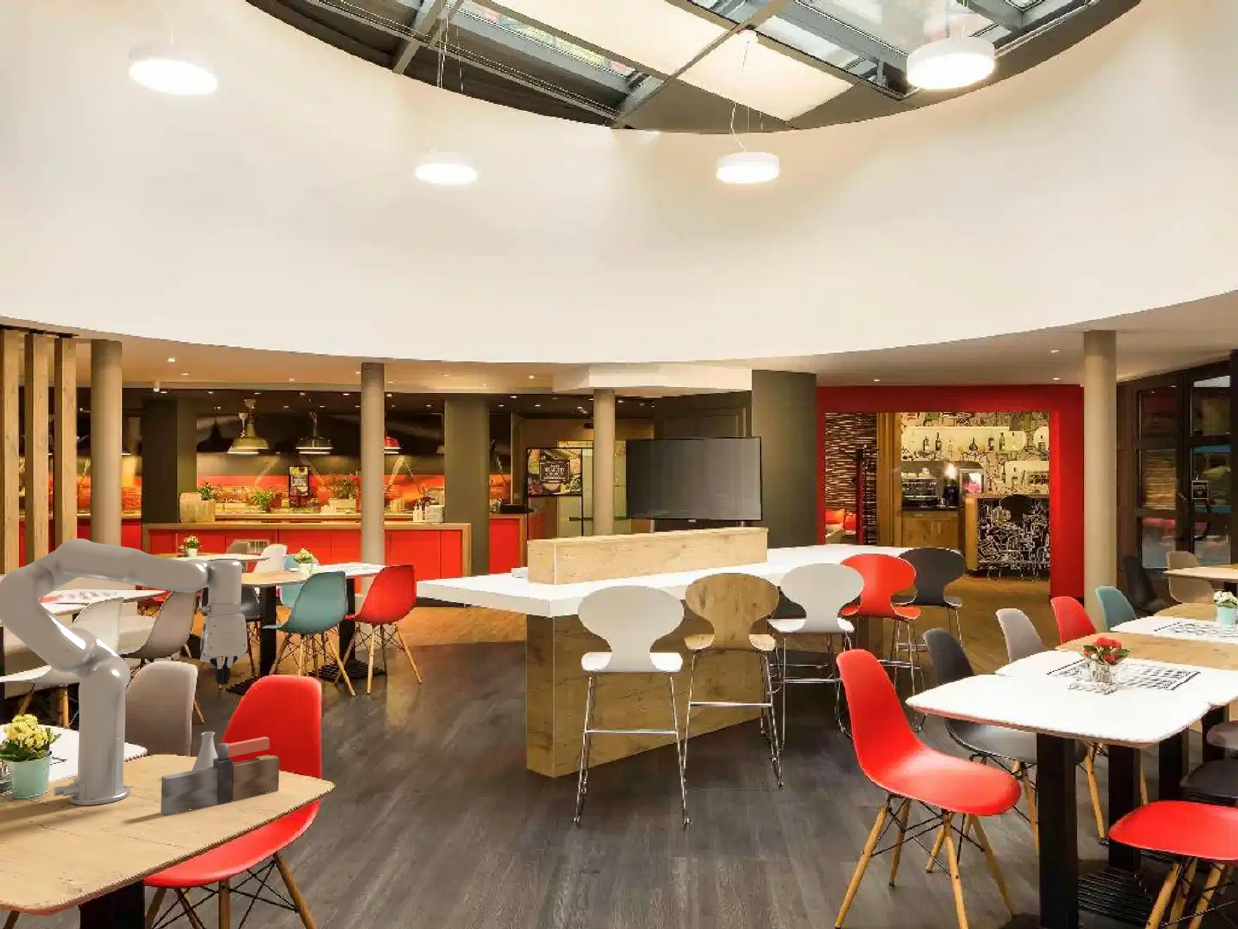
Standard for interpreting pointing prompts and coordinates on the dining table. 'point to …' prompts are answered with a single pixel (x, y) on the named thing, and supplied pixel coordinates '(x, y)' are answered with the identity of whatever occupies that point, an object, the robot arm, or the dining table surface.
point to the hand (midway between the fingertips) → (222, 683)
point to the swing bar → (242, 747)
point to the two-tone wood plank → (219, 783)
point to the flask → (206, 752)
